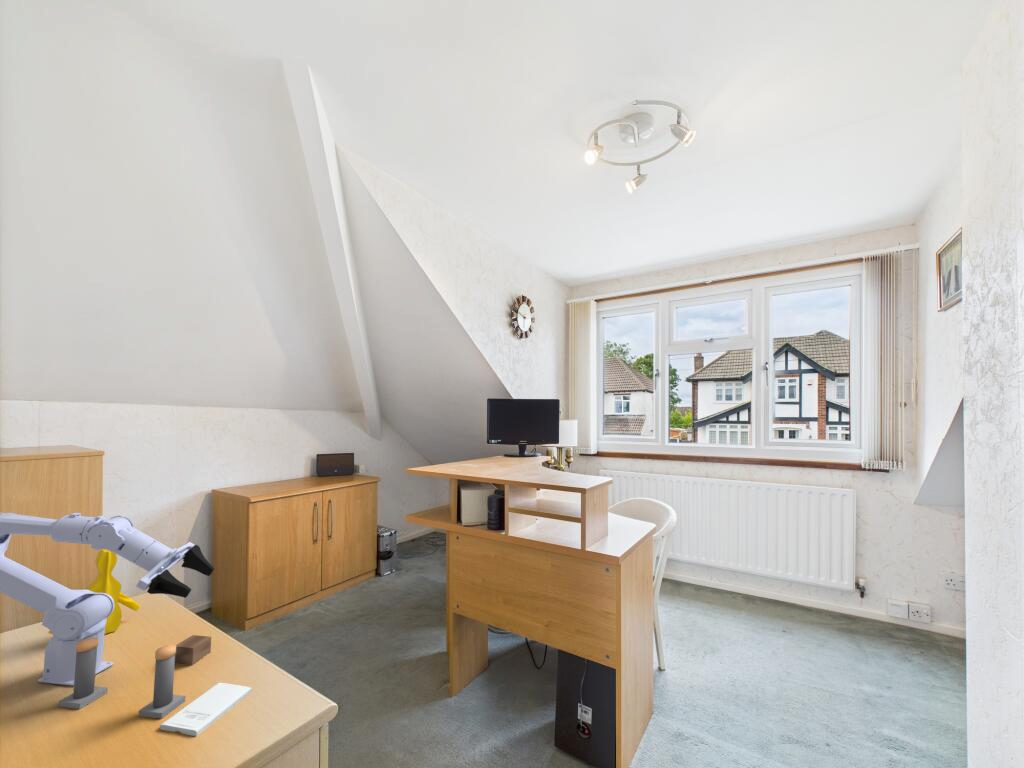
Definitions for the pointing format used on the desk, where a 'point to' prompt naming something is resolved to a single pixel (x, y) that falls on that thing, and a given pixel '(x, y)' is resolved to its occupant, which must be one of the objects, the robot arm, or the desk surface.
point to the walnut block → (192, 649)
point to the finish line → (89, 692)
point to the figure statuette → (110, 588)
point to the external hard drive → (206, 709)
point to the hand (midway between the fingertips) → (200, 582)
